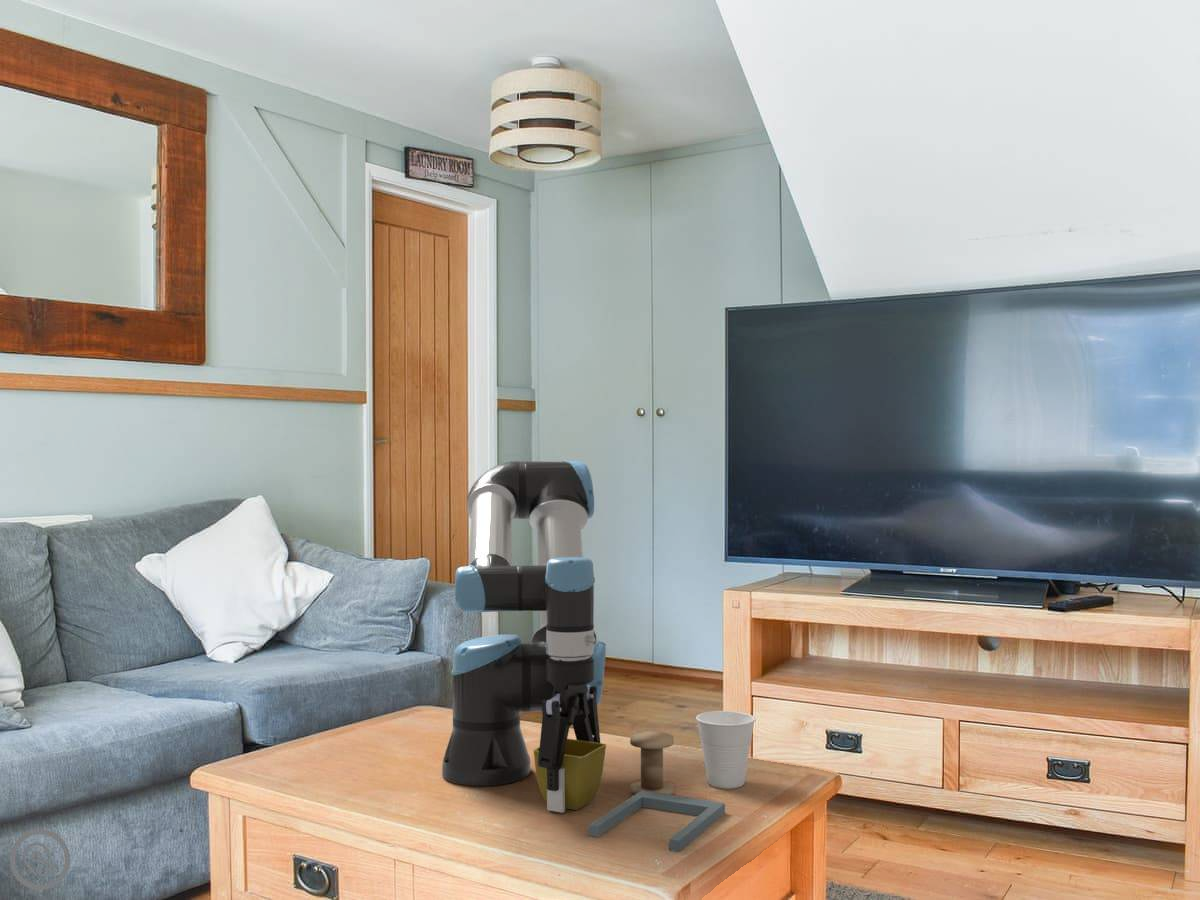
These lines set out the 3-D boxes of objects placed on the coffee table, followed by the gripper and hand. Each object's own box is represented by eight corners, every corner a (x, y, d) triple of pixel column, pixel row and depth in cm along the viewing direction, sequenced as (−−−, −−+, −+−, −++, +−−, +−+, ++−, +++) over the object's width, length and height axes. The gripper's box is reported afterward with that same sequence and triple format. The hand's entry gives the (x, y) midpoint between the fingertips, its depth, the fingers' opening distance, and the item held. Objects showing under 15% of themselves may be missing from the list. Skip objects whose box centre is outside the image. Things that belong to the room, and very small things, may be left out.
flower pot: (607, 800, 160) (607, 742, 161) (583, 816, 153) (583, 756, 153) (558, 793, 164) (558, 737, 164) (532, 809, 156) (532, 750, 157)
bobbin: (623, 795, 163) (622, 739, 163) (641, 784, 169) (641, 729, 169) (663, 802, 159) (662, 744, 160) (680, 789, 166) (680, 734, 166)
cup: (754, 794, 163) (754, 725, 163) (693, 791, 165) (692, 723, 165) (757, 777, 173) (757, 712, 173) (699, 773, 175) (699, 709, 175)
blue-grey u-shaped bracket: (679, 851, 138) (679, 840, 138) (588, 835, 144) (588, 824, 145) (725, 812, 154) (725, 803, 154) (641, 799, 160) (641, 790, 161)
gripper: (557, 669, 148) (557, 826, 147) (621, 648, 167) (622, 786, 166) (513, 665, 151) (513, 818, 151) (581, 644, 170) (581, 780, 170)
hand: (570, 801), depth 158 cm, fingers closed on flower pot, 8 cm apart
